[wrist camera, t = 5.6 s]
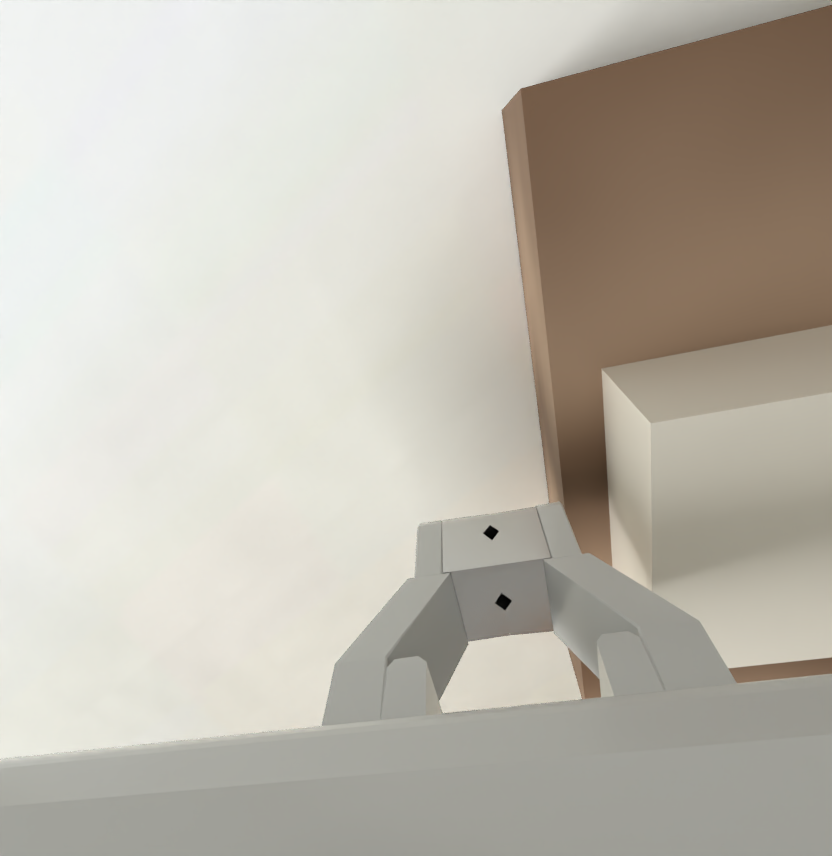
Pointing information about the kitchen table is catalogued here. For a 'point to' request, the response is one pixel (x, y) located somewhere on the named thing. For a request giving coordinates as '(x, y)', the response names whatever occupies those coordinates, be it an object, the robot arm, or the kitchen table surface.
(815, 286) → the stand
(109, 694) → the kitchen table surface
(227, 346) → the kitchen table surface
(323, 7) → the kitchen table surface
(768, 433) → the tile
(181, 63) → the kitchen table surface
